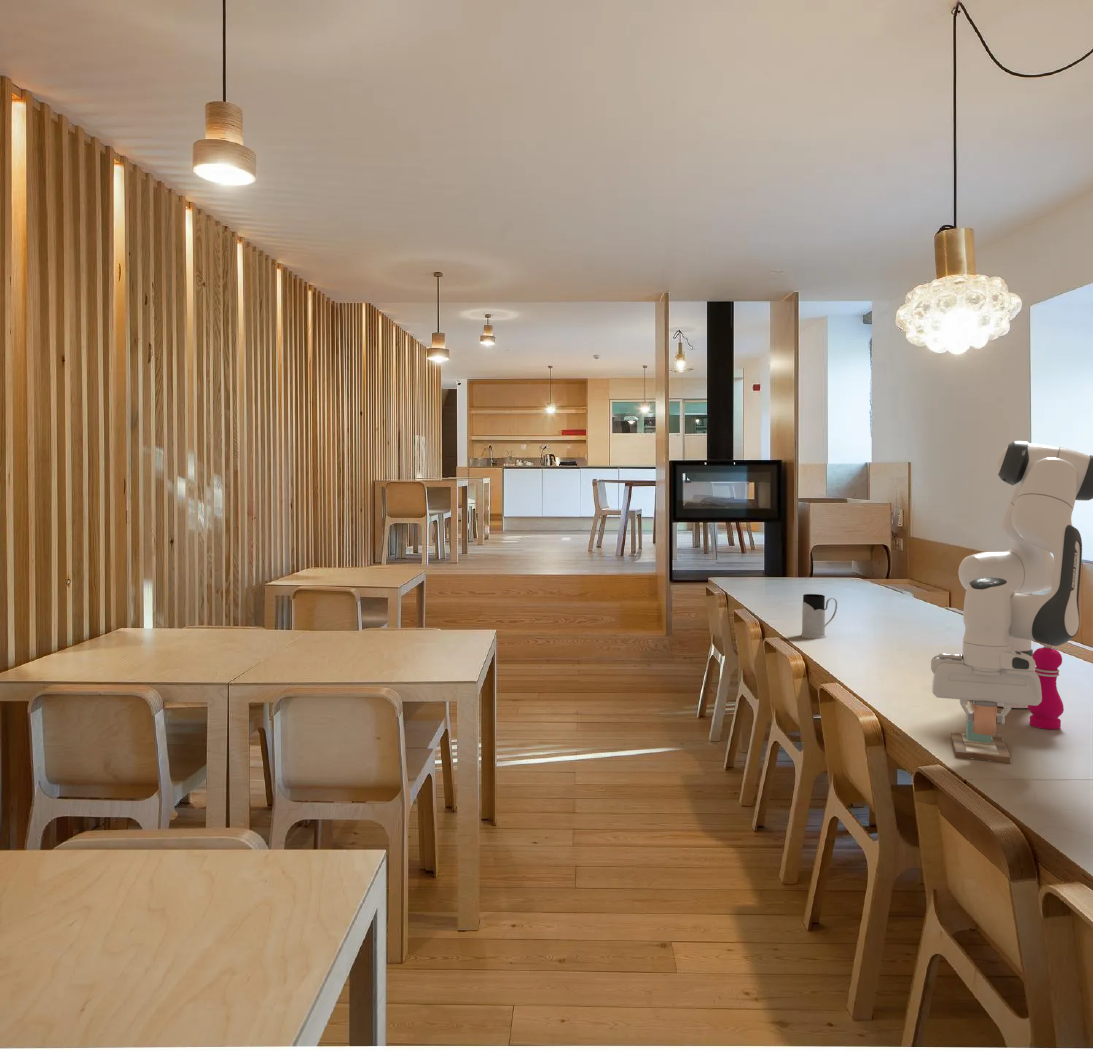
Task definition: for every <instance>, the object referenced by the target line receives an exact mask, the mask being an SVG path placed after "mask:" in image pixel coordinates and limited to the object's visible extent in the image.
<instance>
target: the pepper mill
mask: <svg viewBox="0 0 1093 1051" xmlns="http://www.w3.org/2000/svg"><path fill="white" fill-rule="evenodd" d="M1042 644H1043V645H1042V646H1043V647H1039V648H1037V649H1036V650H1035V651H1033V656H1032V658H1033V659H1034V660H1035V664H1036V666H1035V672H1036V673H1037V675H1038V676H1039V679H1040V684H1041V692H1042V701H1041V703H1040V704H1039V705H1037V706H1034V705H1028V708H1027V709H1028V710H1029V712H1030V713H1031V715H1030V716H1029V725H1031V726H1032V727H1034V728H1038V729H1042V728H1043V729H1042V730H1059V729H1061V726H1062V725H1061V722H1062V720H1061V719H1060V718H1059V717H1060V716H1062V715H1063V713H1064V710H1065V709H1064V708H1065V707H1064V702H1063V700H1062V698H1061V696H1060V693H1059V692H1058V686H1057V679H1058V677H1059V676H1060V673H1059V672H1060V669H1059V667H1060V666H1061V665H1062V663H1063V656H1062V654H1061V652H1059V651H1058V650H1057V649H1055V648H1052V647H1053V646H1052V645H1048V644H1044V643H1042Z"/></svg>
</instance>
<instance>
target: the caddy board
mask: <svg viewBox="0 0 1093 1051" xmlns="http://www.w3.org/2000/svg"><path fill="white" fill-rule="evenodd" d="M950 739H951V742H952V747H953V750H954V754H955V758H960V759H968V758H973V759H972V760H977V759H978V760H979V761H986V760H991V761H990V762H996V763H1006V764H1011V761H1012V760H1011V755H1010V753H1009V750H1008V748H1007V746H1006V743H1005V742H1004V739H1003V737H1000V736H993V735H991V743H988V742H978V741H968V740H967V737H966V732H965V733H963V732H962V733H960V732H951V733H950Z"/></svg>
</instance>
